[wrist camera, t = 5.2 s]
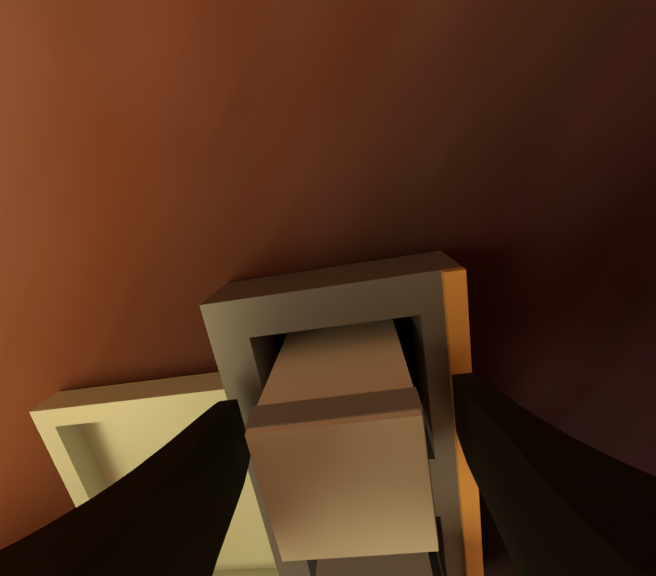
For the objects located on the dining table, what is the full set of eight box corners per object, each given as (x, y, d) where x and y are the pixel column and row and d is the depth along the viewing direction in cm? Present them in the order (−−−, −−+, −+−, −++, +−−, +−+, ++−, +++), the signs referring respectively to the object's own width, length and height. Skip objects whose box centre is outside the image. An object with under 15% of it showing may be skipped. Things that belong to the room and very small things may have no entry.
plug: (392, 312, 13) (424, 413, 7) (404, 403, 14) (440, 552, 8) (287, 327, 14) (241, 433, 8) (308, 414, 15) (280, 562, 9)
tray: (318, 568, 17) (315, 600, 16) (142, 578, 18) (125, 609, 17) (268, 365, 14) (259, 385, 13) (57, 391, 15) (28, 412, 14)
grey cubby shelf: (465, 570, 17) (487, 644, 14) (305, 579, 18) (297, 650, 15) (440, 250, 12) (466, 269, 10) (227, 283, 13) (195, 308, 10)
